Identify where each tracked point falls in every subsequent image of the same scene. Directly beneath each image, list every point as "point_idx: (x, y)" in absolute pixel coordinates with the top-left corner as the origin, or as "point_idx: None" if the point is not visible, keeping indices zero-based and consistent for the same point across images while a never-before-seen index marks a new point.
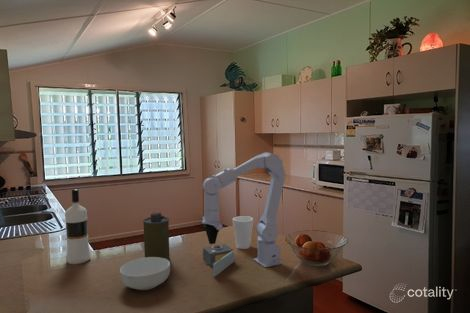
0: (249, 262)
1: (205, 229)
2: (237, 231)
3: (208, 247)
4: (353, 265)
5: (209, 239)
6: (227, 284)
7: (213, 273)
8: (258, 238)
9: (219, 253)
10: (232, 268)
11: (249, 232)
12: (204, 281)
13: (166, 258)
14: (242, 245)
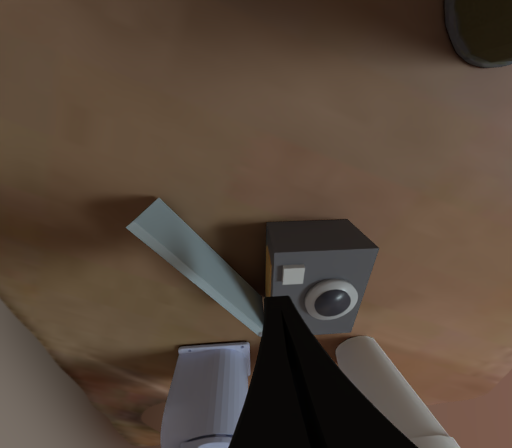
0: (236, 328)
1: (361, 427)
2: (387, 407)
3: (364, 271)
4: (135, 444)
5: (269, 325)
6: (75, 219)
7: (153, 202)
8: (227, 445)
9: (272, 287)
10: None
11: None
12: (123, 144)
13: (479, 6)
14: (345, 354)
